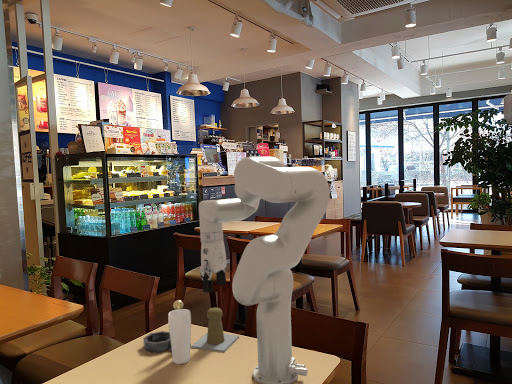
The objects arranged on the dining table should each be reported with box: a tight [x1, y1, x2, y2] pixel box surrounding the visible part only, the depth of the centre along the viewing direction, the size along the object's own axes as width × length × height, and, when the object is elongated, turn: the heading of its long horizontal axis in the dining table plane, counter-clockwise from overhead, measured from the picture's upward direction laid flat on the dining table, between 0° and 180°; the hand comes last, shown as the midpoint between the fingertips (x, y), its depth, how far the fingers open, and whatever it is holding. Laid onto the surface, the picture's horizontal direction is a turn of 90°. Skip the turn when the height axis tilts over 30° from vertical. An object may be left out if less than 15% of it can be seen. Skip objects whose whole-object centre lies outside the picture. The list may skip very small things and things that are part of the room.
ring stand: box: [143, 299, 192, 354], centre depth 130 cm, size 15×10×16 cm, turn 69°
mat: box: [190, 331, 240, 353], centre depth 133 cm, size 12×12×1 cm
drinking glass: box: [167, 308, 192, 365], centre depth 120 cm, size 7×7×15 cm
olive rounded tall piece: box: [206, 307, 225, 345], centre depth 132 cm, size 6×6×11 cm
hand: (214, 287), depth 131 cm, fingers open, 9 cm apart
